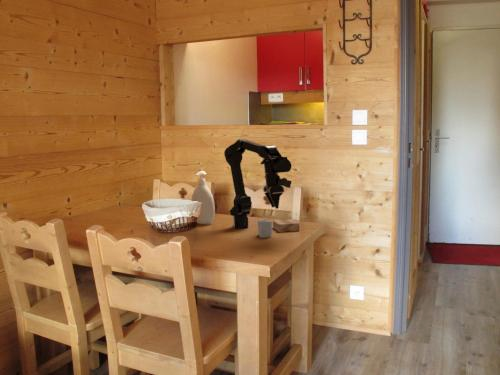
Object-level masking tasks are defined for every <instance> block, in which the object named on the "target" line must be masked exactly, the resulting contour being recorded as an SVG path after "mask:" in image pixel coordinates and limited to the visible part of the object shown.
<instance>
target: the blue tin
mask: <svg viewBox="0 0 500 375" xmlns="http://www.w3.org/2000/svg"><path fill="white" fill-rule="evenodd" d="M272 228H273V227H272V220H270V219H268V218H267V219H257V235H258V236H259V237H260V238H272V234H273V233H272V230H273V229H272Z"/></svg>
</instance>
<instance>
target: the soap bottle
mask: <svg viewBox="0 0 500 375" xmlns="http://www.w3.org/2000/svg"><path fill="white" fill-rule="evenodd" d="M205 175H207V172H205V171H204V170H200V171H198V172H197V173H194V176H200V178H198V180H197V181H198V183H197V186H196V187H195V189H194V191H193V193H192V195H191V201H198V202H202V205H201V213H200V216H199V217H198V219H197V223H196V224H199V225H211V224H212V223H213V222H214V219H215V216H216V215H215V214H216V211H215V210H216V207H215V201H214V200H215V199H214V196H213V194H212V192H211V190H210V188H209V187H208V186H207V184H206V178H204V176H205Z"/></svg>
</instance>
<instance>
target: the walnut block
mask: <svg viewBox="0 0 500 375" xmlns="http://www.w3.org/2000/svg"><path fill="white" fill-rule="evenodd" d="M272 228H273V229H274V230H276V231H277V232H278V233H286V232H285V231H290V232H299V231H300V222H298V221H296V220H295V219H293V218H289V219H275V220H272ZM298 230H299V231H298Z"/></svg>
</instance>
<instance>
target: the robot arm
mask: <svg viewBox="0 0 500 375" xmlns="http://www.w3.org/2000/svg"><path fill="white" fill-rule="evenodd" d="M246 150H247V151H249V152H251V153H255V154H257V155H258V156H259V157H260V158H262V161H261V162H260V165H263V166H264V167H263V168H264V174H265V176H264V179H265V185H264V186H263V188H262V190H263V193H264V195H265V197H266V198H267V201H268V202H269V204H270V206H271V208H275V209H276V210H277V209H279V205H280V198H281V197H282V195H283V194H284V192H285V188H288V189H289V188H291V185H292V183H293V182H292V180H288V177H282V178H281V176H280V175H279V173H288V172H291V169H292V163H291V161H290V160H289V159H288V156H286V155H285V156H283V155H282V154H281V153H280V151H279V150H278V147H277V146H276V145H275V144H274V145H273V144H267V145H266V144H260V143H257V142H254V141H251V140H248V139H246V138H241V139H240V138H239V139H237V140H236V141H235V142H234V143H232V144H231V145H229V146H228V147H226V148H225V150H224V152H223V154H224V158H225V161H226V163H227V164H228V165H229V167H230V172H231V177H232V182H233V188H234V194H235V196H234V199H233V201H232V203H233V206H232V207H231V209H230V210H229V213H230V216H233V225H232V227H233V228H234V229H246V228H249V217H248V215H249V214H250V213H251V209H252V206H253V203H252V197H251V196H250V195H248V194H247V193H246V190H245V183H244V177H243V176H244V175H243V172H242V171H243V170H242V166H241V164H242V161H243V155H244V153H245V152H246ZM284 187H285V188H284Z"/></svg>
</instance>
